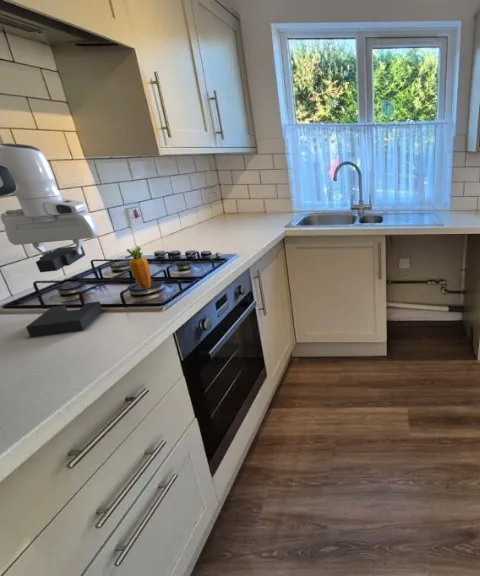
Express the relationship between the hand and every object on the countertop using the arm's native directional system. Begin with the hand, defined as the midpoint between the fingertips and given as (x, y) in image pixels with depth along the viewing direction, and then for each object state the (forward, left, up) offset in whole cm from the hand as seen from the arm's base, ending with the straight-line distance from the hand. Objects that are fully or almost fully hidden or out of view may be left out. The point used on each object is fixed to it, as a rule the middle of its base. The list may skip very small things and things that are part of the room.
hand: (63, 255), depth 104 cm
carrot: (+16, +5, -16) cm, 23 cm away
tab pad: (0, -2, -2) cm, 3 cm away
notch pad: (+2, -13, -15) cm, 20 cm away
